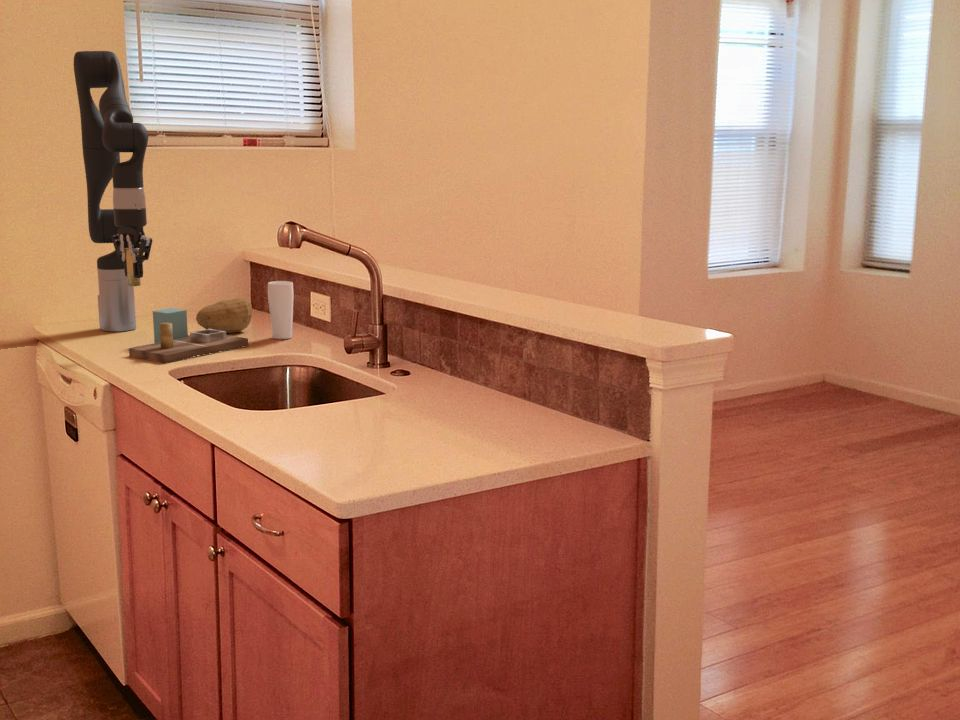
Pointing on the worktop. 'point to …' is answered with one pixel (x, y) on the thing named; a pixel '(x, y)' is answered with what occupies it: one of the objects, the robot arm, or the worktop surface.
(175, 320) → the block
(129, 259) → the pin
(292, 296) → the drinking glass
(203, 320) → the potato
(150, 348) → the board
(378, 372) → the worktop surface
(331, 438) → the worktop surface
